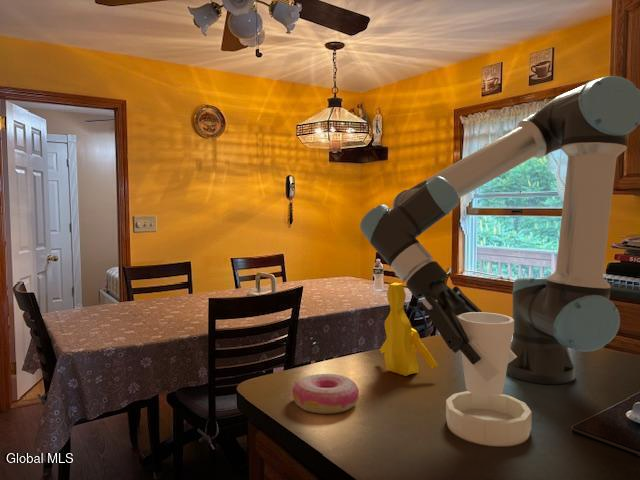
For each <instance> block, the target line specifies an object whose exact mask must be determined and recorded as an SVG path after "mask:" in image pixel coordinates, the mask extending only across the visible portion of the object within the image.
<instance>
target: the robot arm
mask: <svg viewBox="0 0 640 480" xmlns="http://www.w3.org/2000/svg"><path fill="white" fill-rule="evenodd" d="M638 126H640V89H639V88H637V86H636V85H635V83H633V82H632V81H631V80H629V79H628V78H625V77H622V76H616V75H610V76H609V75H607V76H604V77H601V78H596V79H592V80H590V81H588V82H586V83H585V84H583V85H581V86H578V87H577V88H574V89H572V90H570V91H567V92H564V93H562V94H559V95H558V96H556V97H554V99H552V100H551V101H549V102H548V103H546V104H545V105H544V106H542V107H540V109H538V110H536V111H535V112H533V113H532V114H530V115H529V116H527V117H526V118H524V119H521V120H520V121H519V122H518V124H517V126H516V128H515V129H513V130H511V131H509V132H508V133H506V134H504V135H502V136H500V137H499V138H497V139H495V140H494V141H492V142H490V143H488V144H487V145H485V146H483V147H481V148H479V149H477V150H476V151H474V152H472V153H470V154H468V155H467V156H465V157H463V158H462V159H460V160H458V161H456V162H454V163H453V164H451V165H449V166H448V167H446V168H443V169H442V170H440V171H438V172H437V173H435V174H433V175H432V176H430V177H428V178H426V179H424V180H423V181H421V182H418V184H416V185H414V186H413V187H409V189H404V190H402V191H401V192H399V193H398V194H397V195H396V196H395V197H394V200H393V202H392V208H391V207H389V206H388V205H386V204H379V205H377V206H376V207H373V208H371V209H370V210H369V211H367V213H366V214H365V215H364V216H363V218H362V219H361V221H360V225H359V227H360V231H361V233H362V234H363V235H364V236H365V239H367V241H368V242H369V243H370V245H371V247H373V248H374V250H375V251H376V252H377V253H378V254H379V255H380V257H381V258H382V259H383V260H384V262H386V263H387V265H388V266H389V267H390V269H391V270H392V271H393V272H394V275H395V277H398V278H399V279H400V280H401V281H402V282H403V283H405V284H406V285H405V286H406V288H407V290H408V291H409V292H410V293H411V294H412V295H413V297H414V298H416V299H417V300H421V301H420V302H419V303H418V304H419V307H420V308H421V309H422V310H423V311H424V312H425V313H426V314H427V316H428V318H429V319H430V320H431V322H432V324H433V326H435V329H436V330H437V332H438V333H439V334H440V336H441V338H442V339H443V340H444V343H445V344H446V345H447V347H448V348H449V350H451V351H452V352H453V353H456V354H457V353H458V352H459V351H460V352H461V354H462V353H463V354H464V356H465V357H466V358H467V359H468V360H469V362H470V363H471V364H472V365H473V366H474V368H475V369H476V370H477V371H478V373H479V374H480V375H481V376H482V377H483V379H484V380H485V381H486V382H488V381H489V380H490V379H492V378H493V377H494V376H496V375H497V374H498V373H499V371H498V369H497V368H496V367H495V366H494V365H493V363H492V362H491V361H490V360H489V359H488V358H487V356H486V355H485V354H484V353H483V352H482V351H481V349H480V348H479V347H478V346H477V345H476V343H475V342H474V341H473V340H472V341H471V342H470V343H469V339H468V337H467V335H466V333H465V331H464V330H463V328H462V326H461V324H460V322H459V320H458V315H460V314H462V313H469V312H483V311H482V310H481V308H479V307H478V306H477V305H476V304H475V303H474V302H473V301H472V300H471V299H469V298H468V296H466V295H465V294H464V292H463V291H462V289H460V287H458V285H455V286H453V288H451V287H450V286H448V285H447V284H446V283H445V280H447V277H448V273H447V271H446V270H444V268H443V267H442V266H441V265H440V264H439V262H438V261H435V260H434V256H433V255H432V254H431V253H430V252H429V251H428V250H427V248H426V247H424V245H423V244H422V243H421V242H420V241H419V240H418V239H417V238H418V237H420V236H421V235H422V234H423V233H424V232H426V231H427V230H428V229H430V228H431V227H433V226H434V225H435V224H437V223H438V222H439V221H441V220H442V219H443V218H445V217H446V216H447V215H449V214H450V213H451V212H452V211H454V210H455V208H456V207H458V205H459V204H460V199H461V198H462V197H464V196H467V195H468V194H469V193H472V192H473V191H474V190H477V189H478V188H480V187H482V186H484V185H485V184H488V183H489V182H491V181H493V180H495V179H497V178H498V177H499V176H502V175H503V174H505V173H507V172H509V171H511V170H513V169H515V168H516V167H518V166H520V165H521V164H523V163H526V162H527V161H529V160H531V159H532V158H537V159H542V158H543V157H545V156H547V155H548V154H551V153H553V152H555V151H558V150H562V152H563V153H564V154H565V155H566V156H567V166H566V173H565V174H566V176H565V183H564V184H565V185H564V194H563V203H562V209H561V210H562V211H561V220H560V221H561V222H560V229H559V230H560V231H559V240H558V248H557V258H556V266H555V271H554V272H553V273H552V274H550V275H549V276H548V277H546V276H545V277H518V278H517V279H515V280H514V281H513V286H512V292H511V295H512V318H513V319H514V334H513V335H512V341H511V347H510V353H509V359H508V365H507V371H506V375H509V377H512V378H514V379H517V380H520V381H524V382H527V383H528V382H529V383H533V384H540V385H541V384H542V385H563V384H568V383H571V382H573V381H574V380H575V379H576V376H575V371H576V368H575V365H574V362H573V359H572V357H571V353H570V350H569V349H572V350H575V351H578V352H594V351H598V350H601V349H602V348H604V347H605V346H607V344H610V343H611V342H612V341H613V339H614V338H615V337H616V335H617V334H618V332H619V329H620V325H621V316H620V315H621V314H620V312H619V309H618V308H617V307H616V305H615V304H614V302H613V301H612V300H610V296H611V288H612V287H611V284H610V283H609V282H608V281H607V280H606V279H605V277H604V271H605V264H606V263H605V262H606V254H607V253H606V252H607V245H608V236H609V227H610V219H611V218H610V217H611V210H612V203H613V202H612V201H613V192H614V184H615V183H614V182H615V175H616V168H617V167H616V166H617V158H618V157H619V156H620V155H621V154H622V153H624V152H625V151H626V150H627V148H628V143H629V142H628V141H629V140H628V139H629V134H630V133H632V132H633V131H634V130H636V128H637V127H638Z"/></svg>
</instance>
